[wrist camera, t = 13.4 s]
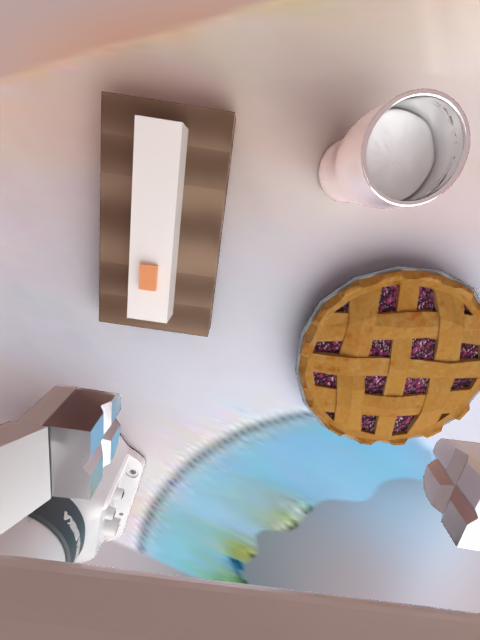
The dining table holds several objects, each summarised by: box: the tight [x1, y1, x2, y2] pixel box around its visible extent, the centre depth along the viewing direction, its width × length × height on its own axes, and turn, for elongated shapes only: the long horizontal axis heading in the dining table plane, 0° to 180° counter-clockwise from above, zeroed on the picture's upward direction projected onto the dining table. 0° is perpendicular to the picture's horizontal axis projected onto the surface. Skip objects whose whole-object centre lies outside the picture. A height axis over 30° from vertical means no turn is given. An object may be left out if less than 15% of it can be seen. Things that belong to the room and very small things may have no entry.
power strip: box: [127, 115, 188, 323], centre depth 34 cm, size 18×4×6 cm, turn 172°
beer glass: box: [319, 89, 470, 209], centre depth 28 cm, size 7×7×15 cm
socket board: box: [99, 91, 236, 337], centre depth 36 cm, size 22×12×3 cm, turn 172°
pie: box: [295, 266, 480, 445], centre depth 39 cm, size 22×22×5 cm
